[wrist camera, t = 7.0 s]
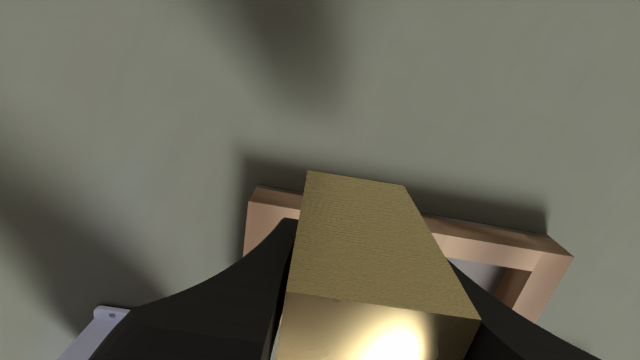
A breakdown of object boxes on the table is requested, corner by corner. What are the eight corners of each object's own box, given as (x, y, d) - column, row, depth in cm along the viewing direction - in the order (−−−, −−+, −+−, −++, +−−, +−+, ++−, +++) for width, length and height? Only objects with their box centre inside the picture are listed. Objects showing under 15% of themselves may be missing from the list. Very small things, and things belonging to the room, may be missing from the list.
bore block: (245, 290, 24) (236, 317, 21) (257, 184, 20) (247, 201, 18) (496, 330, 25) (514, 361, 22) (547, 234, 21) (575, 258, 19)
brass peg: (294, 251, 14) (266, 419, 8) (307, 170, 13) (285, 291, 6) (381, 264, 14) (425, 439, 8) (403, 185, 13) (482, 320, 6)
